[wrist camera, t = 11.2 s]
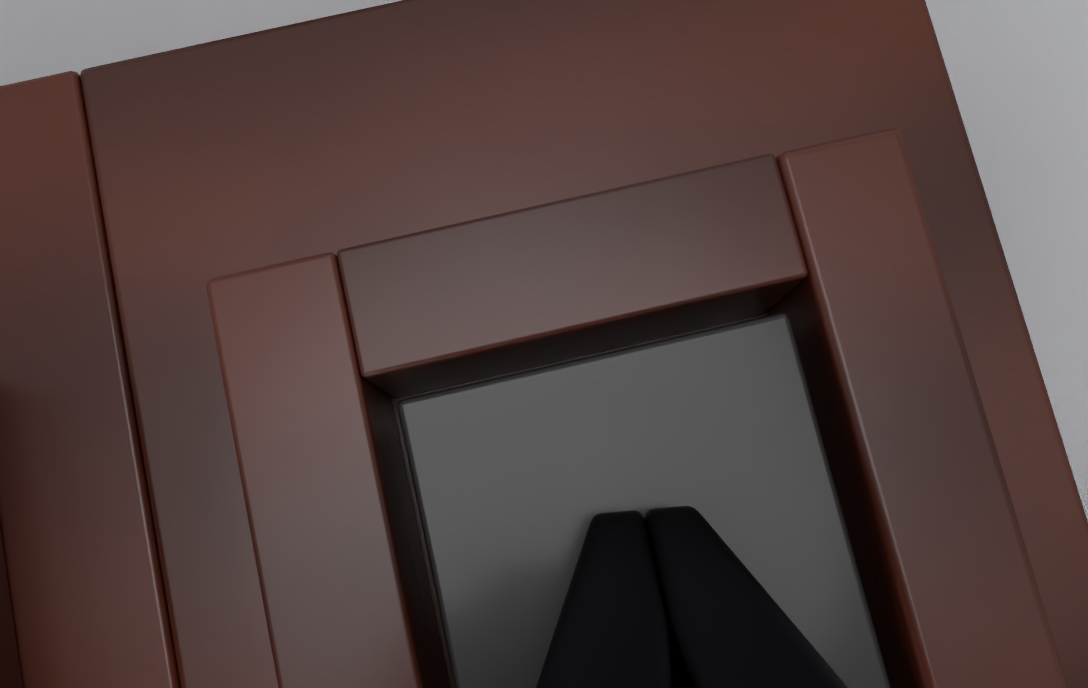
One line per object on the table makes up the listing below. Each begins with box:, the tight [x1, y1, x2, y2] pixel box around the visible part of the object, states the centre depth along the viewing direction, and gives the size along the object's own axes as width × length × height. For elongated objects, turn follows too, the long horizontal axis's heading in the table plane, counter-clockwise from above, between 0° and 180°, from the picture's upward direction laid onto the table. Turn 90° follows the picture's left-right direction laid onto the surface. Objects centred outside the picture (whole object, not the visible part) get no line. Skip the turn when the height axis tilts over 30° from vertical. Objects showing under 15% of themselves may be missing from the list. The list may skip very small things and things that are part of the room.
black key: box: [397, 313, 891, 688], centre depth 10 cm, size 4×4×2 cm
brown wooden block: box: [80, 0, 1088, 688], centre depth 12 cm, size 10×10×7 cm
